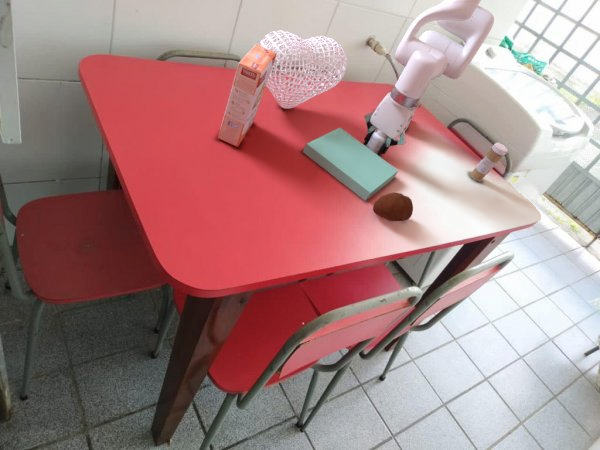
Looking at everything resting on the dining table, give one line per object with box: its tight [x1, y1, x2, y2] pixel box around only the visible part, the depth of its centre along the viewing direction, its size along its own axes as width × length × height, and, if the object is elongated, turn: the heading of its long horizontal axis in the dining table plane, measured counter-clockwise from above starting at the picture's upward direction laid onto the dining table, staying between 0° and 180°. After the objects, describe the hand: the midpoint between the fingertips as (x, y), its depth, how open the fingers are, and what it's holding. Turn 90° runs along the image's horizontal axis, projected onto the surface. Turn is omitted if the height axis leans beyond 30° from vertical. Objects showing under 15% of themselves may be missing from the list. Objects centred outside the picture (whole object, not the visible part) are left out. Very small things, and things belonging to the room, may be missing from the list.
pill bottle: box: [365, 129, 388, 155], centre depth 123 cm, size 5×5×8 cm
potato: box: [372, 191, 414, 222], centre depth 103 cm, size 8×12×8 cm, turn 110°
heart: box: [258, 29, 348, 110], centre depth 118 cm, size 28×16×22 cm, turn 123°
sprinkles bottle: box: [469, 142, 508, 183], centre depth 134 cm, size 5×5×13 cm
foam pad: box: [302, 127, 399, 202], centre depth 115 cm, size 18×22×3 cm
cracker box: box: [217, 43, 278, 148], centre depth 101 cm, size 14×6×21 cm, turn 168°
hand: (373, 148), depth 125 cm, fingers closed on pill bottle, 4 cm apart
